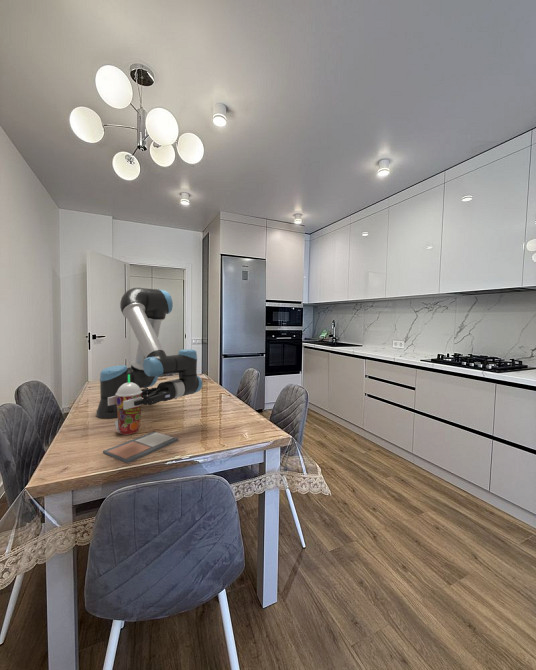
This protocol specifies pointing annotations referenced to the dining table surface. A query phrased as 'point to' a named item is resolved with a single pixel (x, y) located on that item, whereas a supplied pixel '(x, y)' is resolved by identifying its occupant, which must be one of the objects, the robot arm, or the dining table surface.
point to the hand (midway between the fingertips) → (116, 403)
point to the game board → (140, 447)
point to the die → (117, 427)
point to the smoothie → (128, 417)
